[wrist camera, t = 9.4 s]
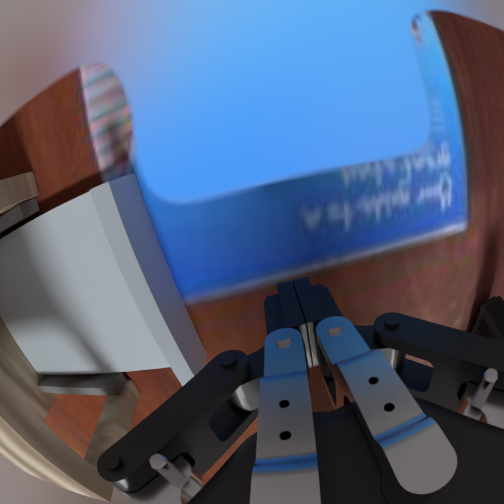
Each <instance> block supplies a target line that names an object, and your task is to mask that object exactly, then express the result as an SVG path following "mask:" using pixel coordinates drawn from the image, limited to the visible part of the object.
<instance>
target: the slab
mask: <svg viewBox="0 0 504 504" xmlns="http://www.w3.org/2000/svg"><path fill="white" fill-rule="evenodd" d="M0 316H1V318H2V320H3V322H4V323H5V325H6V327H7V328H8V330H9V332H10V333H11V335H12V337H13V338H14V340H15V341H16V343H17V344H18V346H19V347H20V349H21V350H22V352H23V353H24V355H25V356H26V358H27V359H28V361H29V362H30V363H31V365H32V366H33V368H34V369H35V370H36V372H37V373H38V374H95V373H113V372H126V371H137V370H147V369H157V368H165V367H171V368H172V370H173V372H174V373H175V375H176V377H177V378H178V380H179V381H180V383H181V384H182V386H184V385H185V384H186V383H187V382H188V381H189V380H190V379H192V378H193V377H194V376H195V375H196V374H197V373H198V372H199V371H200V370H201V369H203V368H204V367H205V363H206V355H207V353H206V351H205V349H204V347H203V345H202V343H201V340H200V338H199V336H198V334H197V332H196V330H195V327H194V325H193V323H192V321H191V319H190V316H189V314H188V312H187V310H186V307H185V305H184V303H183V301H182V298H181V296H180V293H179V291H178V289H177V286H176V284H175V282H174V279H173V277H172V274H171V272H170V269H169V267H168V264H167V262H166V259H165V257H164V254H163V251H162V249H161V246H160V243H159V241H158V238H157V235H156V233H155V230H154V227H153V224H152V222H151V219H150V216H149V213H148V210H147V207H146V204H145V201H144V198H143V195H142V192H141V189H140V186H139V183H138V180H137V177H136V173H132V174H129V175H126V176H123V177H120V178H117V179H114V180H111V181H108V182H106V183H104V184H101V185H99V186H97V187H94V188H92V189H90V191H89V192H87V193H85V194H83V195H81V196H78V197H76V198H74V199H72V200H70V201H68V202H66V203H64V204H62V205H60V206H58V207H56V208H54V209H52V210H50V211H48V212H46V213H45V214H43V215H41V216H39V217H37V218H35V219H33V220H32V221H30V222H28V223H26V224H25V225H23V226H21V227H19V228H18V229H16V230H14V231H13V232H11V233H9V234H8V235H6V236H4V237H3V238H1V239H0Z"/></svg>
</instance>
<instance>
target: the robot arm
mask: <svg viewBox="0 0 504 504" xmlns="http://www.w3.org/2000/svg"><path fill="white" fill-rule="evenodd" d="M292 282H293V284H292ZM276 285H277V289H278V294H276V295H272V296H267V298H266V300H265V302H264V310H265V318H266V327H267V337H266V339H265V345H264V346H263V347H262V348H261V349H259V350H258V351H256V352H254V353H252V354H249V355H247V356H246V354H245V353H244V352H242V351H239V350H229V351H225V352H222V353H220V354H219V355H217V356H216V357H215V358H214V359H212V360H211V361H210V362H209V363H208V364H207V365H206V366H205V367H204V368H203V369H201V370H200V371H199V372H198V373H197V374H196V375H195V376H194V377H193V378H192V379H190V380H189V381H188V382H187V383H186V384H185V385H184V386H183V387H181V388H180V389H179V390H178V391H177V392H176V393H175V394H173V395H172V396H171V397H170V398H169V399H168V400H166V401H165V402H164V403H163V404H162V405H161V406H160V407H158V408H157V409H156V410H155V411H154V412H152V413H151V414H150V415H149V416H148V417H146V418H145V419H144V420H143V421H142V422H140V423H139V424H138V425H137V426H136V427H134V428H133V429H132V430H131V431H129V432H128V433H127V434H126V435H125V436H123V437H122V438H121V439H120V440H118V441H117V442H116V443H114V444H113V445H112V446H111V447H109V448H108V449H107V450H106V451H104V452H103V453H102V454H101V455H100V457H99V459H98V462H97V471H98V473H99V475H100V476H101V477H102V478H103V479H104V480H106V481H107V482H109V483H110V484H111V485H113V486H114V487H115V488H116V489H117V490H119V491H120V492H122V493H123V494H125V495H126V496H128V497H129V498H131V500H133V502H134V503H135V504H504V341H500V340H496V339H492V338H488V337H484V336H481V335H477V334H473V333H469V332H465V331H462V330H458V329H454V328H451V327H447V326H443V325H439V324H436V323H432V322H429V321H425V320H421V319H418V318H414V317H410V316H407V315H403V314H400V313H385V314H382V315H380V316H379V317H378V318H377V319H376V320H375V322H374V325H373V326H356V325H353V324H352V322H351V321H350V320H349V319H347V318H345V317H343V316H342V314H341V312H340V310H339V309H338V307H337V305H336V303H335V301H334V299H333V297H332V296H331V294H330V292H329V290H328V288H326V287H324V286H323V285H321V284H319V285H315V286H311V283H310V281H309V279H308V277H304V278H300V279H295V280H292V281H287V282H282V283H278V284H276ZM406 354H408V355H411V356H414V357H417V358H420V359H423V360H426V361H429V362H430V363H431V364H432V365H433V367H434V368H432V367H429V366H426V365H423V364H420V363H417V362H414V361H412V360H409V359H406V358H405V356H406ZM310 356H311V357H310ZM311 360H312V363H313V367H314V366H318V365H319V366H320V369H321V377H322V381H323V384H324V386H325V388H326V391H327V393H328V396H329V398H330V401H331V403H332V405H333V408H334V410H333V411H329V412H313V406H312V399H311V391H310V384H309V378H310V373H309V368H310V367H312V364H311ZM257 416H258V426H257V432H256V433H255V434H253V435H252V436H250V437H249V438H248V439H246V440H245V441H244V442H243V443H242V444H241V445H240V446H239V447H238V448H237V450H236V451H235V452H234V453H233V454H232V455H231V457H230V458H229V459H228V460H227V461H226V462H225V464H224V465H223V466H222V467H221V468H220V469H219V470H218V471H217V472H216V473H215V475H214V476H213V477H212V478H211V479H210V480H209V481H208V482H207V483H206V484H205V485H204V486H203V478H202V475H204V474H205V473H206V472H207V471H208V470H209V469H210V468H211V467H212V466H213V465H214V464H215V462H216V461H217V460H218V459H219V458H220V457H221V456H222V455H223V454H224V453H225V452H226V451H227V450H228V449H229V448H230V447H231V446H232V445H233V443H234V442H235V441H236V440H237V439H238V438H239V437H240V436H241V435H242V434H243V432H244V431H245V430H246V429H247V428H248V427H249V426H250V424H251V423H252V422H253V421H254V420H255V419H256V417H257Z"/></svg>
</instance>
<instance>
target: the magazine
mask: <svg viewBox="0 0 504 504" xmlns="http://www.w3.org/2000/svg"><path fill="white" fill-rule="evenodd" d="M471 333H473V334H477V335H481V336H484V337H488V338H492V339H496V340H500V341H504V301H503V299H502V298H501V297H500V296H497V297H495V296H494V297H492V298H490V299H488V300H486V301H485V303H484V304H482V305H481V307H480V313H479V315H478V318H477V320H476V323H475V325H474V327H473V330H472V332H471Z"/></svg>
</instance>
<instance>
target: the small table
mask: <svg viewBox="0 0 504 504" xmlns="http://www.w3.org/2000/svg"><path fill="white" fill-rule="evenodd" d="M37 195H39V191H38V188H37V184H36V180H35V177H34V173H33V171H32V172H28V173H24V174H21V175H17V176H13V177H10V178H6V179H3V180H0V214H1V213H3V212H5V211H7V210H10V209H11V210H10V211H8V212H7V213H5V214H4V215H2V216H1V217H0V233H2V232H4V231H5V230H7V229H8V228H10V227H12V226H13V225H15V224H17V223H18V222H20V221H22V220H23V219H25V218H27V217H29V216H30V215H32V214H34V213H36V212H38V211H39V210H40V209H39V206H38V203H37V200H36V198H34V197H35V196H37ZM32 198H34V199H32ZM30 199H31V200H30ZM12 208H13V209H12ZM140 393H141V392H140V391H139V389H138V388H137V387H136V385H135V384H134V383H133V381H132V380H127V379H126V378H125V376H124V375H123V374H122V372H113V373H95V374H38V373H37V372H36V370H35V369H34V368H33V366H32V365H31V363H30V362H29V361H28V359H27V358H26V356H25V355H24V353H23V352H22V350H21V349H20V347H19V346H18V344H17V343H16V341H15V340H14V338H13V337H12V335H11V333H10V332H9V330H8V328H7V327H6V325H5V323H4V322H3V320H2V318H1V316H0V455H2V456H3V457H4V458H5V459H6V460H7V461H8V462H10V463H11V464H12V465H13V466H15V467H16V468H18V469H20V470H22V471H25V472H27V473H29V474H31V475H33V476H35V477H37V478H40V479H42V480H44V481H47V482H49V483H52V484H54V485H57V486H59V487H62V488H65V489H68V490H70V491H73V492H76V493H79V494H83V495H86V496H89V497H92V498H96V499H100V500H104V501H107V502H110V500H111V496H112V491H113V487H114V486H113V485H111V484H110V483H109V482H107V481H106V480H104V479H103V478H102V477H101V476H100V475H99V473H98V471H97V462H98V459H99V457H100V455H101V454H102V453H103V452H104V451H106V450H107V449H108V448H109V447H111V446H112V445H113V444H114V443H116V442H117V441H118V440H120V439H121V438H122V437H123V436H125V435H126V434H127V433H128V432H129V428H130V425H131V422H132V418H133V415H134V412H135V409H136V405H137V402H138V399H139V396H140ZM58 394H75V395H108V398H107V400H106V403H105V405H104V408H103V410H102V413H101V415H100V418H99V420H98V423H97V425H96V428H95V431H94V433H93V436H92V439H91V442H90V444H89V447H88V450H87V453H86V456H85V458H84V459H83V458H82V457H81V456H80V455H78V454H77V453H76V452H75V451H74V450H72V449H71V448H70V447H69V446H68V445H67V444H66V443H64V442H63V441H62V440H61V439H60V438H59V437H58V436H57V435H56V434H55V433H54V432H53V431H52V430H51V429H50V428H48V427H47V426H46V425H45V424H44V423H43V422H44V420H45V418H46V416H47V414H48V412H49V410H50V408H51V406H52V405H53V403H54V401H55V399H56V397H57V395H58Z"/></svg>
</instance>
